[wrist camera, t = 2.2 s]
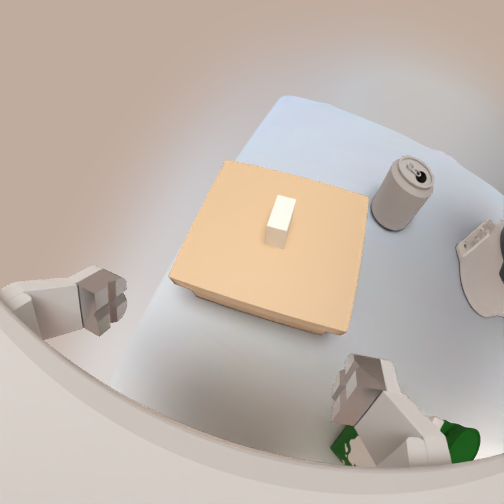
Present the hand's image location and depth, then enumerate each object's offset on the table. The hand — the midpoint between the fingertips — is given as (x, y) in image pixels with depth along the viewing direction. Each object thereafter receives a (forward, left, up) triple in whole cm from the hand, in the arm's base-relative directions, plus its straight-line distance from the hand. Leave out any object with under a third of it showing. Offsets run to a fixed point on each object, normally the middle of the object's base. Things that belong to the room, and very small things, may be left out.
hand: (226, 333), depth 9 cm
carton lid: (-11, -9, -20) cm, 25 cm away
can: (-33, -4, -28) cm, 43 cm away
